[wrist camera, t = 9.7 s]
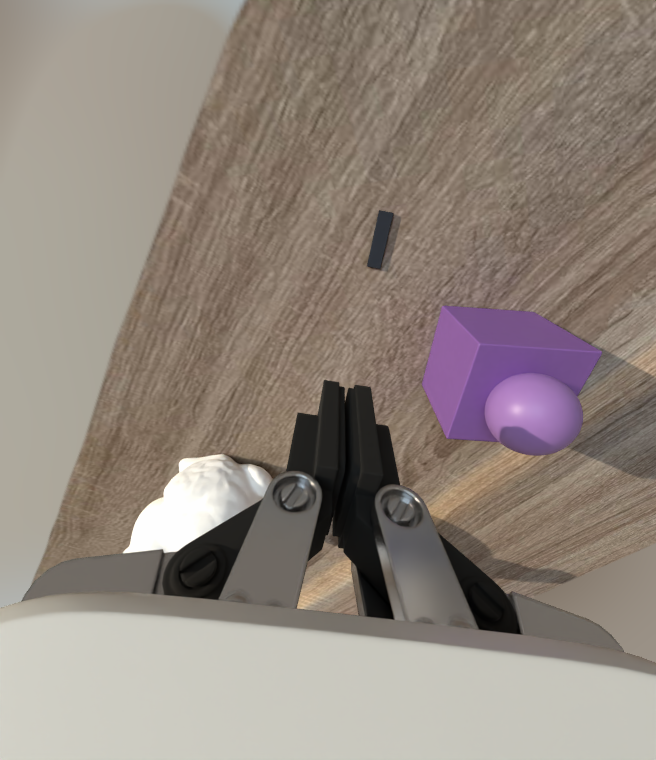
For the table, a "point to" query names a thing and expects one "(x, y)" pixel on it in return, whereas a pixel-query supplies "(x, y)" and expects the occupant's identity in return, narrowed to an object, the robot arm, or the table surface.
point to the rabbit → (198, 502)
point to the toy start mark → (380, 239)
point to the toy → (507, 379)
